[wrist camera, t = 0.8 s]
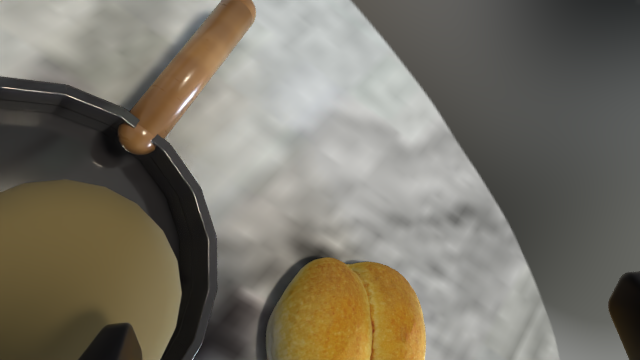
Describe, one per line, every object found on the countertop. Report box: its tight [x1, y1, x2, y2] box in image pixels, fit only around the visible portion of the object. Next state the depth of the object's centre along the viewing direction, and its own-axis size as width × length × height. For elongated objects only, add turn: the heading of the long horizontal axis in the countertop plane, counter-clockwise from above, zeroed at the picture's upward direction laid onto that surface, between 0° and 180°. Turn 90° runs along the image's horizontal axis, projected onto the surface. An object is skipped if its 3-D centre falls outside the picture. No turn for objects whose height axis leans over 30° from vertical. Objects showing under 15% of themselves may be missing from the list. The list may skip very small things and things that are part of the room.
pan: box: [0, 77, 217, 360], centre depth 17 cm, size 13×13×4 cm
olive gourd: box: [0, 179, 182, 360], centre depth 14 cm, size 6×6×11 cm
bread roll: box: [266, 257, 426, 360], centre depth 25 cm, size 8×9×4 cm
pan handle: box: [118, 0, 256, 155], centre depth 21 cm, size 9×2×2 cm, turn 145°
